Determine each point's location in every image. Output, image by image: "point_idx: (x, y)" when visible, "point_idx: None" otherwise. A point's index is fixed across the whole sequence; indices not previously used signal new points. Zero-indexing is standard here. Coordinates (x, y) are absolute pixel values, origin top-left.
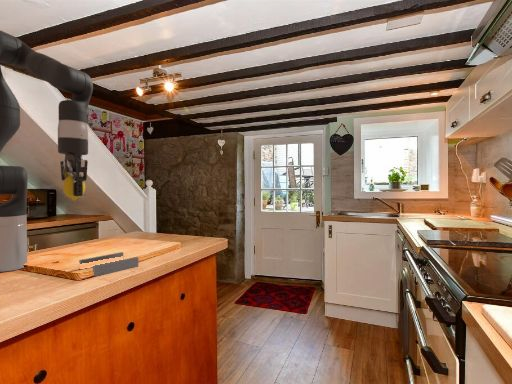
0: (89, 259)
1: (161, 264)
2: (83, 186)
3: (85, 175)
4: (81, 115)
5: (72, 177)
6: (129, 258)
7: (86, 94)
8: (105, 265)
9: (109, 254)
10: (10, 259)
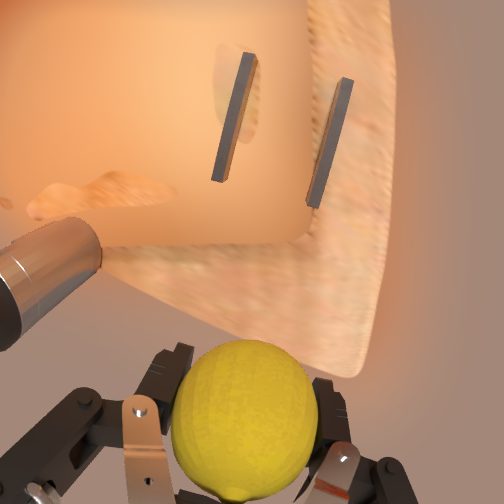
0: (228, 157)
1: (391, 49)
2: (315, 405)
3: (406, 492)
4: None
5: (294, 499)
6: (338, 99)
7: None
8: (326, 178)
9: (234, 90)
10: (87, 270)
